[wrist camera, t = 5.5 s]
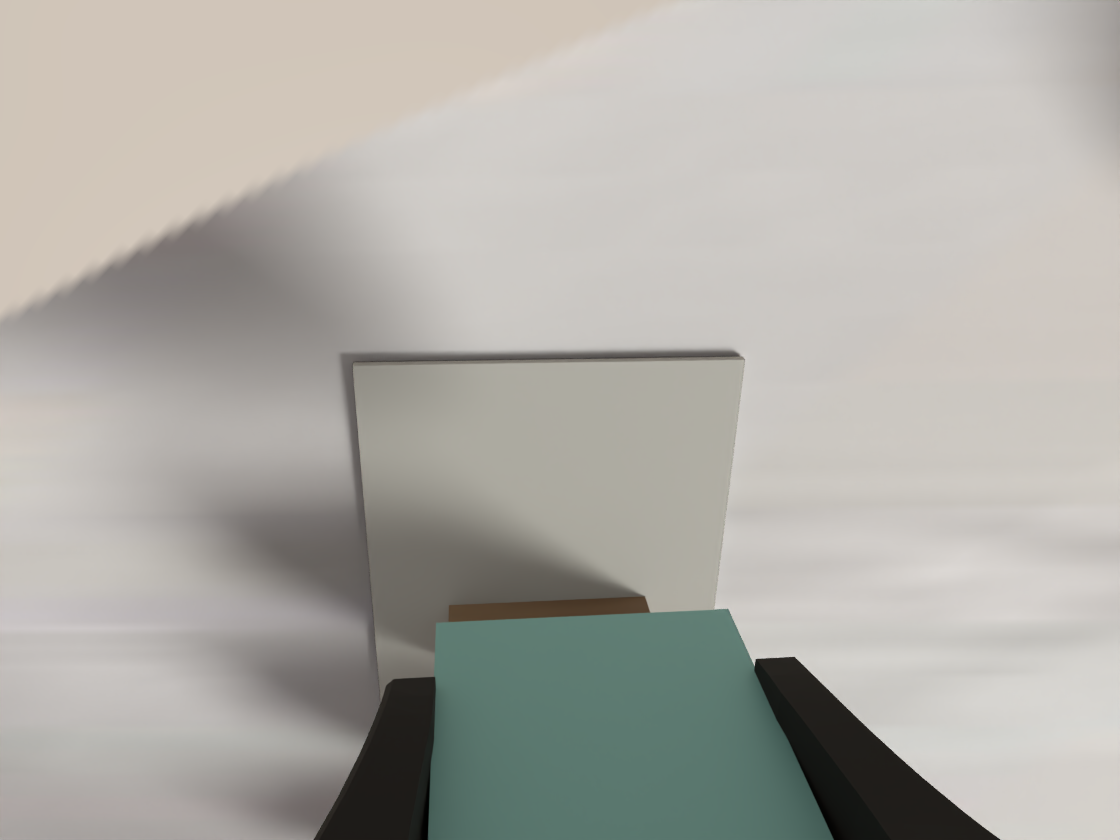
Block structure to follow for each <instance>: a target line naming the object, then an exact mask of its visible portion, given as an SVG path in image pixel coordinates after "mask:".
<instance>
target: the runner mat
mask: <svg viewBox="0 0 1120 840" xmlns="http://www.w3.org/2000/svg"><path fill="white" fill-rule="evenodd" d="M744 365H745V359H744V358H743V357H677V358H610V359H544V360H477V361H410V362H353V366H352V367H353V379H354V391H355V403H356V415H357V427H358V439H359V451H360V463H361V475H362V487H363V499H364V511H365V523H366V535H367V547H368V559H369V571H370V583H371V595H372V607H373V619H374V631H375V643H376V655H377V667H378V679H379V691H380V703H381V701H382V698H383V694H384V691H385V687H386V685H387V684H388V683H389V682H391V681H392V680H393V679H401V678H419V677H434V664H435V637H436V623H442V622H449V605H465V604H487V603H509V602H531V601H553V600H575V599H597V598H619V597H641V596H645V598H646V601H647V604H648V607H649V610H650V613H654V612H676V611H697V610H714V606H715V598H716V590H717V582H718V574H719V566H720V558H721V550H722V542H723V534H724V526H725V518H726V510H727V502H728V494H729V485H730V477H731V469H732V461H733V453H734V445H735V437H736V429H737V421H738V413H739V405H740V397H741V389H742V381H743V373H744Z"/></svg>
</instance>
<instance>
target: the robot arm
mask: <svg viewBox="0 0 1120 840" xmlns="http://www.w3.org/2000/svg"><path fill="white" fill-rule="evenodd" d="M754 671H755V674H756V676H757V678H758V680H759V682H760V685H761V687H762V689H763V691H764V693H765V696H766V698H767V700H768V702H769V704H770V707H771V709H772V711H773V713H774V715H775V718H776V720H777V722H778V723H779V725H780V727H781V728H782V730H783V732H784V734H785V735H786V737H787V739H788V741H789V743H790V745H791V747H792V750H793V752H794V754H795V756H796V758H797V761H798V763H799V765H800V767H801V769H802V771H803V774H804V776H805V778H806V780H807V782H808V785H809V787H810V789H811V791H812V793H813V796H814V798H815V800H816V802H817V804H818V806H819V809H820V811H821V813H822V815H823V817H824V820H825V822H826V824H827V826H828V828H829V830H830V833H831V835H832V837H833V839H834V840H1000V839H999V838H997V837H996V836H995V835H993V834H992V833H991V832H989V831H988V830H986V829H985V828H984V827H982V826H981V825H980V824H979V823H977V822H976V821H975V820H973V819H972V818H971V817H970V816H968V815H967V814H966V813H964V812H963V811H962V810H961V809H959V808H958V807H957V806H956V805H955V804H953V803H952V802H951V801H950V800H949V799H947V798H946V797H945V796H944V795H943V794H941V793H940V792H939V791H938V790H937V789H935V788H934V787H933V786H932V785H930V784H929V783H928V782H927V781H926V780H924V779H923V778H922V777H921V776H920V775H919V774H918V773H916V772H915V771H914V770H913V769H912V768H911V767H910V766H908V765H907V764H906V763H905V762H904V761H903V760H902V759H901V758H899V757H898V756H897V755H896V754H895V753H894V752H893V751H892V750H891V749H890V748H888V747H887V746H886V745H885V744H884V743H883V742H882V741H881V740H880V739H879V738H878V737H876V736H875V735H874V734H873V733H872V732H871V731H870V730H869V729H868V728H867V727H866V726H865V725H864V724H863V723H862V722H861V721H860V720H859V719H857V718H856V717H855V716H854V715H853V714H852V713H851V712H850V711H849V710H848V709H847V708H846V707H845V706H844V705H843V704H842V703H841V702H840V701H839V700H838V699H837V698H836V697H835V696H834V695H833V694H832V693H831V692H830V691H829V690H828V689H827V688H826V687H825V686H824V685H823V684H822V683H821V682H820V681H819V680H818V679H817V678H815V677H814V676H813V675H812V674H811V673H810V672H809V671H808V670H807V669H806V668H805V667H804V666H803V665H802V664H801V663H800V662H799V661H798V660H797V659H796V658H795V657H784V658H766V659H756V662H755V668H754ZM435 697H436V681H435V677H419V678H401V679H393V680H392V681H391V682H389V683H388V684H387V685H386V687H385V691H384V694H383V698H382V701H381V704H380V706H379V709H378V712H377V715H376V717H375V720H374V722H373V725H372V727H371V730H370V732H369V734H368V736H367V739H366V741H365V743H364V745H363V748H362V750H361V752H360V754H359V756H358V758H357V760H356V762H355V764H354V766H353V768H352V770H351V772H350V774H349V776H348V778H347V780H346V782H345V784H344V786H343V788H342V790H341V792H340V794H339V796H338V798H337V800H336V802H335V804H334V805H333V807H332V809H331V811H330V812H329V814H328V816H327V818H326V819H325V821H324V823H323V825H322V826H321V828H320V830H319V831H318V833H317V835H316V837H315V838H314V840H428V825H429V798H430V771H431V758H432V751H433V745H434V727H435Z"/></svg>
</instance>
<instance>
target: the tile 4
mask: <svg viewBox="0 0 1120 840" xmlns="http://www.w3.org/2000/svg"><path fill="white" fill-rule="evenodd" d="M633 613H650V610H649V607H648V604H647V601H646V598H645V596H641V597H619V598H597V599H575V600H553V601H531V602H509V603H487V604H465V605H449V622H463V621H484V620H506V619H527V618H548V617H569V616H591V615H612V614H633Z"/></svg>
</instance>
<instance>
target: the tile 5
mask: <svg viewBox="0 0 1120 840" xmlns="http://www.w3.org/2000/svg"><path fill="white" fill-rule="evenodd" d="M754 668H755V667H754V664H753V662H752V660H751V658H750V656H749V654H748V651H747V649H746V647H745V645H744V643H743V640H742V638H741V636H740V634H739V632H738V629H737V627H736V625H735V623H734V621H733V619H732V616H731V614H730V612H729V610H728V609H718V610H697V611H676V612H654V613H633V614H612V615H591V616H569V617H548V618H527V619H506V620H484V621H463V622H442V623H436V637H435V664H434V677H435V681H436V697H435V727H434V745H433V751H432V758H431V771H430V798H429V825H428V840H834V839H833V837H832V835H831V833H830V830H829V828H828V826H827V824H826V822H825V820H824V817H823V815H822V813H821V811H820V809H819V806H818V804H817V802H816V800H815V798H814V796H813V793H812V791H811V789H810V787H809V785H808V782H807V780H806V778H805V776H804V774H803V771H802V769H801V767H800V765H799V763H798V761H797V758H796V756H795V754H794V752H793V750H792V747H791V745H790V743H789V741H788V739H787V737H786V735H785V734H784V732H783V730H782V728H781V727H780V725H779V723H778V722H777V720H776V718H775V715H774V713H773V711H772V709H771V707H770V704H769V702H768V700H767V698H766V696H765V693H764V691H763V689H762V687H761V685H760V682H759V680H758V678H757V676H756V674H755V671H754Z"/></svg>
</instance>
